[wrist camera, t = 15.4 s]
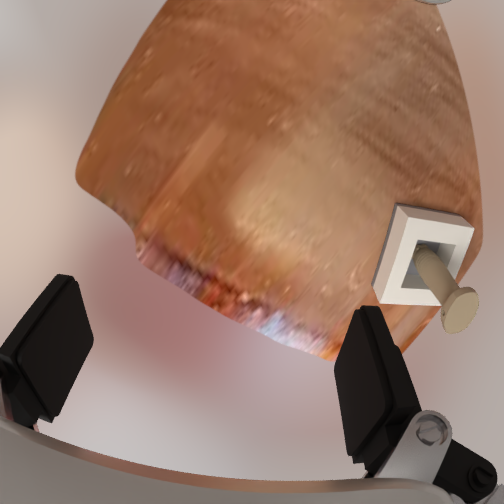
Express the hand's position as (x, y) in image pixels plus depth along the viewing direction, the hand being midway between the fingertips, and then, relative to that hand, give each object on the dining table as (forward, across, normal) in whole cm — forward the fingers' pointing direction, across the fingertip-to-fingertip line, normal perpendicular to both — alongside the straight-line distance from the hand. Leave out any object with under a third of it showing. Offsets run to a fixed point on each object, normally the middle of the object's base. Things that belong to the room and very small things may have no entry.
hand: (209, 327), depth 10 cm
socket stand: (+33, -27, +13) cm, 45 cm away
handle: (+32, -27, +13) cm, 44 cm away
